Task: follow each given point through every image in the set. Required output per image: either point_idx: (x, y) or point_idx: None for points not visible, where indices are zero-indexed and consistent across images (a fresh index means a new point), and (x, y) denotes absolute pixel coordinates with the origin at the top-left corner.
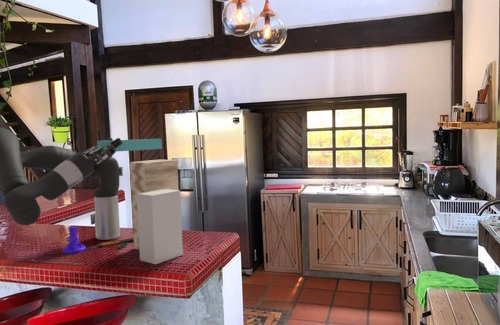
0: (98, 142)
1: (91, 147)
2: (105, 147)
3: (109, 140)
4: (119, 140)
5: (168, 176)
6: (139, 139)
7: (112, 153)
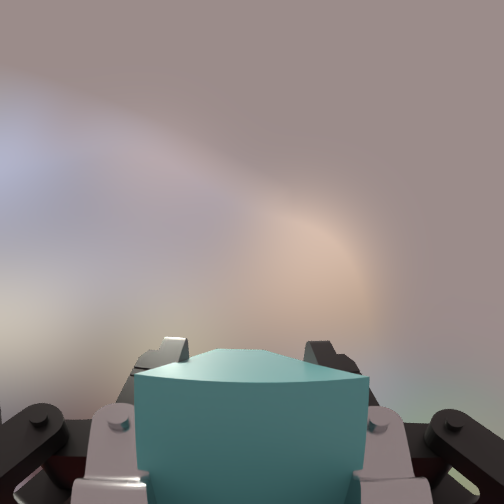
0: (171, 406)
1: (2, 443)
2: (411, 470)
3: (191, 362)
4: (345, 362)
5: None
6: (244, 352)
7: (468, 491)
